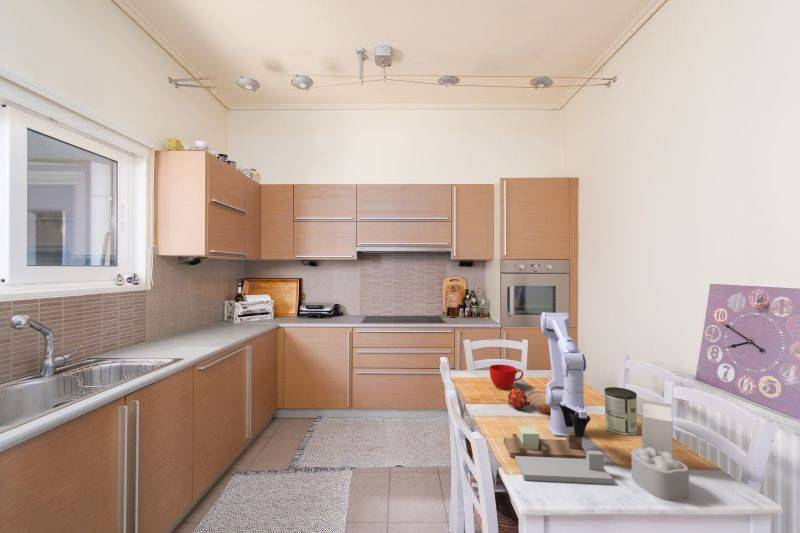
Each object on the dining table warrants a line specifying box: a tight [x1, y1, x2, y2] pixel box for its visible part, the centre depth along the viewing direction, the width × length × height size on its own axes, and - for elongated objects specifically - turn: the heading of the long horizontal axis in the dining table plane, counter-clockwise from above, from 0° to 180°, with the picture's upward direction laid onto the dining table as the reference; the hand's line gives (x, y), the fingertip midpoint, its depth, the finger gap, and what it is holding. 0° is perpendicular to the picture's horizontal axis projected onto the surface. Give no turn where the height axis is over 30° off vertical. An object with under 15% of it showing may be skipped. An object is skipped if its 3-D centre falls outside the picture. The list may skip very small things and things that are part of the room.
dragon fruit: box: [507, 388, 531, 411], centre depth 151 cm, size 8×8×12 cm
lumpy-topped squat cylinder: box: [630, 446, 690, 502], centre depth 96 cm, size 10×13×9 cm
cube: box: [518, 426, 540, 450], centre depth 115 cm, size 5×5×5 cm
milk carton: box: [641, 398, 674, 456], centre depth 107 cm, size 7×7×19 cm
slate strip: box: [514, 450, 614, 485], centre depth 102 cm, size 24×10×6 cm, turn 85°
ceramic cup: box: [489, 364, 524, 390], centre depth 178 cm, size 13×17×10 cm
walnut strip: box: [503, 432, 586, 459], centre depth 114 cm, size 24×10×6 cm, turn 85°
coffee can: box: [603, 386, 638, 436], centre depth 131 cm, size 10×10×14 cm
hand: (574, 431), depth 113 cm, fingers open, 7 cm apart
